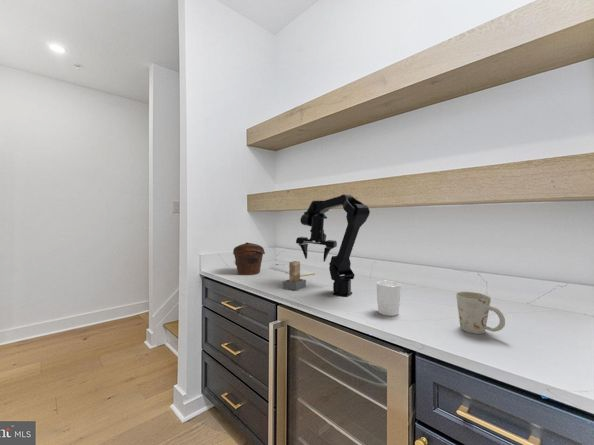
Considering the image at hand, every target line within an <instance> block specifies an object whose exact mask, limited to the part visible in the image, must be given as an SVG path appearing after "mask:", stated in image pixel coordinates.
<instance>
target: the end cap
mask: <svg viewBox="0 0 594 445" xmlns="http://www.w3.org/2000/svg"><path fill="white" fill-rule="evenodd" d="M306 287H307V280H306V279H303V278H300V281H299V282H296V283H294V282H289V279H286V280H283V281H282V289H283V290H290V291H296V292H297V291H298V290H301V289H304V288H306Z"/></svg>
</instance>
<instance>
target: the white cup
mask: <svg viewBox="0 0 594 445" xmlns="http://www.w3.org/2000/svg"><path fill="white" fill-rule="evenodd" d="M401 290H402V283H400V282H399V281H398V282H397V281H392V280H379V281H377V282H376V299H377V300H376V302H377V313H379V314H380V315H383V316H387V317H388V316H392V317H395V316H399V315H400V314H399V313H400V305H401Z"/></svg>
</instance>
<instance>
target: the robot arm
mask: <svg viewBox="0 0 594 445" xmlns="http://www.w3.org/2000/svg"><path fill="white" fill-rule="evenodd" d="M341 206H342V207H343V208H342V209H343V210H344V211H345V212H346V216H345V217H346V220H347V221H346V222H347V224H346V225H347V226H346V228H345V232H344V234H343V237H342V241H341V244H340V247H339V251H338V253H337V255H332V256H331V258H330V262H329V263H328V264H329V267H328V270H329V274H330V279H331V281H333V282H332V284H333V285H332V286H333V287H332V289H333V290H332V295H335V296H341V297H346V298H347V297H348V296H351V295H352V294H353V292H352V280H354V279H355V276H356V274H355V273H354V271H353V270H352V269H351V266H352V264H351V259H350V257H351V255H352V251H353V249H354V246H355V243H356V239H357V237H358V233H359V231H360V228H361V227H362V226H363V225H364V224H365V223H366V222H367V220H368V218H369V216H370V212H371V211H370V208H369V207H368V205H367V204H364V203H363V202H362V201H360V200H358V199H357V198H355V197H354V196H353V195H352V194H341V195H340V196H335V197H331V198H329V199H325V200H312V201H311V203H310V204H309V207H308V208H307V210H306V211H304V212H303V214H302V215H301V217H300V220H299V221H300V223H301V225H303V226H307V227H311V228H310V230H309V232H310V237H309V238H308V237H306V236H299V237H297V238H296V239H295V244H297V245H298V246H300V248H301V250H302V253H303V256H304V258H305V259H306V260H307V258H308V246H309V244H313V245H322V246H325V247H324V250H323V262H326V261H327V258H328V254H330V251H331V250H332V249H333V250H334V248H337V246H338V242H337V240H335V239H333V240H331V239H327V234H326V233H325V230H324V222H325V219H328V216H326V214H325V213H327V212H329V211H330V209H334V208H338V207H341ZM326 239H327V240H326Z"/></svg>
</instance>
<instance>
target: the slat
mask: <svg viewBox="0 0 594 445" xmlns="http://www.w3.org/2000/svg"><path fill="white" fill-rule="evenodd" d="M288 267H289V274H288V277H289V279H288V280H289V282H294V283H296V282H299V281H300V279H301V277H300V270H301V261H297V260H293V261H289V266H288Z"/></svg>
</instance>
